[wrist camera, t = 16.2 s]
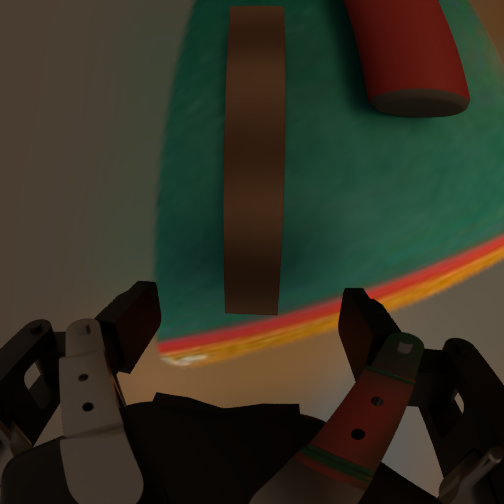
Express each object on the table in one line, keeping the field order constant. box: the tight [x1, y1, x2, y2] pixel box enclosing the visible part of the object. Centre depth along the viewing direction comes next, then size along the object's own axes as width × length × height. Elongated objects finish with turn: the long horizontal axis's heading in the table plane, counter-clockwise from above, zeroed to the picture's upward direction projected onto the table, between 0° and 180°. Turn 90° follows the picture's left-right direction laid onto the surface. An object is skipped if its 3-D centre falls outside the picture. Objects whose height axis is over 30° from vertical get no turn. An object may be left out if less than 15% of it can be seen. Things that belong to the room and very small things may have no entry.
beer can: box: [344, 0, 470, 117], centre depth 10 cm, size 7×7×12 cm
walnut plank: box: [224, 6, 285, 315], centre depth 15 cm, size 18×3×4 cm, turn 179°
